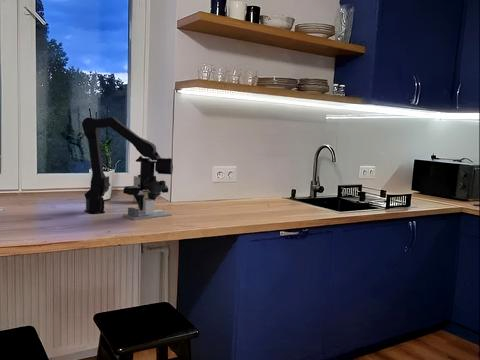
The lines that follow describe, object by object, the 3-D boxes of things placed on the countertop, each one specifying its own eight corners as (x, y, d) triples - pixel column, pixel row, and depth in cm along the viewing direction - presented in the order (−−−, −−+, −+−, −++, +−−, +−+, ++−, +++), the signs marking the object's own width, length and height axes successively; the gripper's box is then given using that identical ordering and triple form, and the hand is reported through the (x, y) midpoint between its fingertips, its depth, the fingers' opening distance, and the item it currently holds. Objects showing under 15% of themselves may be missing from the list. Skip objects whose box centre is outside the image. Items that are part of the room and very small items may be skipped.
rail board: (134, 220, 176) (135, 211, 176) (123, 215, 182) (123, 207, 182) (171, 215, 189) (171, 207, 188) (159, 211, 195) (159, 203, 195)
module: (145, 214, 181) (146, 200, 180) (137, 211, 185) (138, 198, 184) (153, 213, 184) (154, 199, 183) (145, 210, 188) (146, 197, 187)
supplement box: (152, 202, 215) (153, 175, 213) (149, 204, 210) (150, 176, 209) (135, 200, 216) (136, 174, 214) (132, 202, 211) (133, 175, 209)
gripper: (138, 176, 170) (136, 215, 172) (177, 174, 183) (175, 211, 186) (123, 172, 178) (122, 210, 180) (161, 171, 191) (159, 206, 193)
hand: (145, 209), depth 184 cm, fingers closed on module, 4 cm apart
